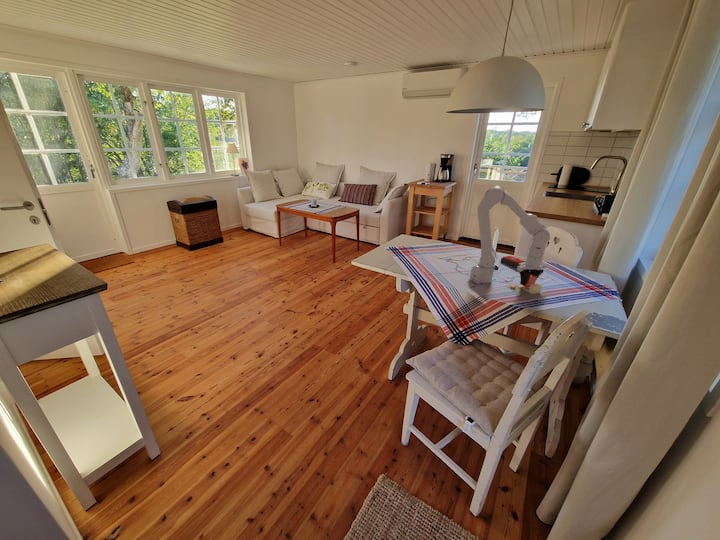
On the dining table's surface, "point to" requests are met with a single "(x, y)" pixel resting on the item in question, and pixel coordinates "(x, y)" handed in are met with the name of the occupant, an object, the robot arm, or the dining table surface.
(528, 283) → the block
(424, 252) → the dining table surface
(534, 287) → the switch handle
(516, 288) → the panel
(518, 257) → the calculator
